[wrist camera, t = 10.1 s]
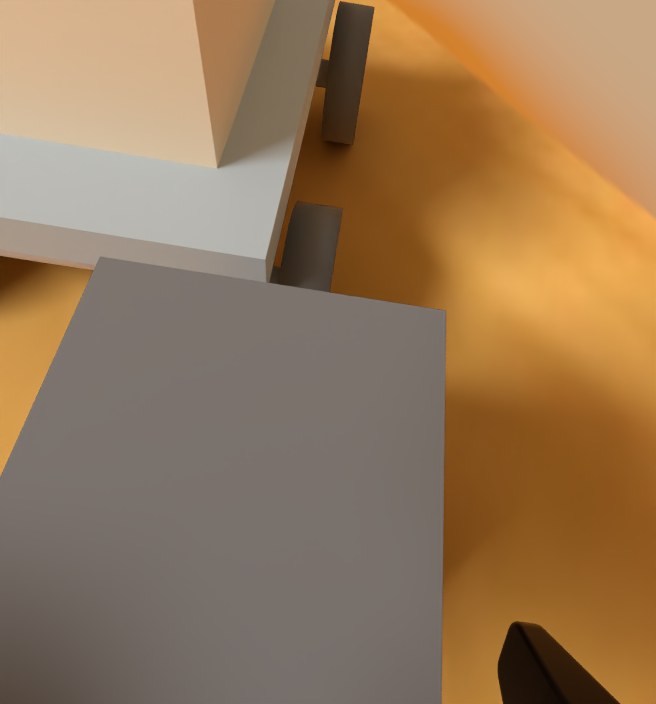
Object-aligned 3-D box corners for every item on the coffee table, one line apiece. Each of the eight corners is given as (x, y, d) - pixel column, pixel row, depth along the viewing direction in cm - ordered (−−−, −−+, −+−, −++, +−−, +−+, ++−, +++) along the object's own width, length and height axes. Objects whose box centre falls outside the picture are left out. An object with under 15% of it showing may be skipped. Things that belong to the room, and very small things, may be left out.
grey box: (325, 688, 15) (445, 908, 4) (159, 664, 15) (-164, 827, 4) (355, 412, 19) (450, 167, 8) (226, 392, 19) (158, 120, 8)
